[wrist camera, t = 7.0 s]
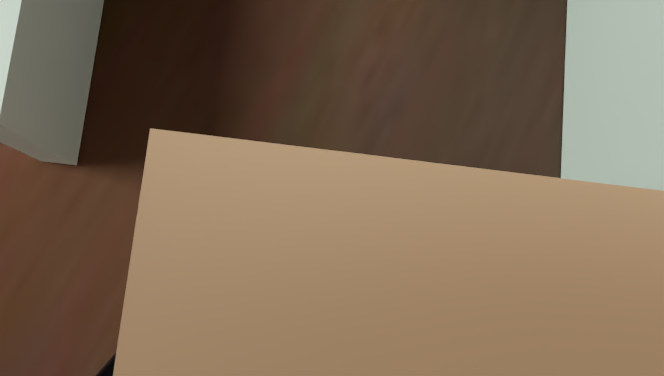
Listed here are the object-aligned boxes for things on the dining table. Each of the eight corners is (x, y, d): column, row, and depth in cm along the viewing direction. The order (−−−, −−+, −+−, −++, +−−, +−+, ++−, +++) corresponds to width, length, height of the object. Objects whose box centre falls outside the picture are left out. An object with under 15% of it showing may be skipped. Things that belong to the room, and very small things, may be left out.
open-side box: (588, 223, 18) (709, 208, 13) (41, 161, 16) (-54, 117, 11) (596, -53, 20) (709, -159, 15) (93, -139, 18) (29, -295, 13)
